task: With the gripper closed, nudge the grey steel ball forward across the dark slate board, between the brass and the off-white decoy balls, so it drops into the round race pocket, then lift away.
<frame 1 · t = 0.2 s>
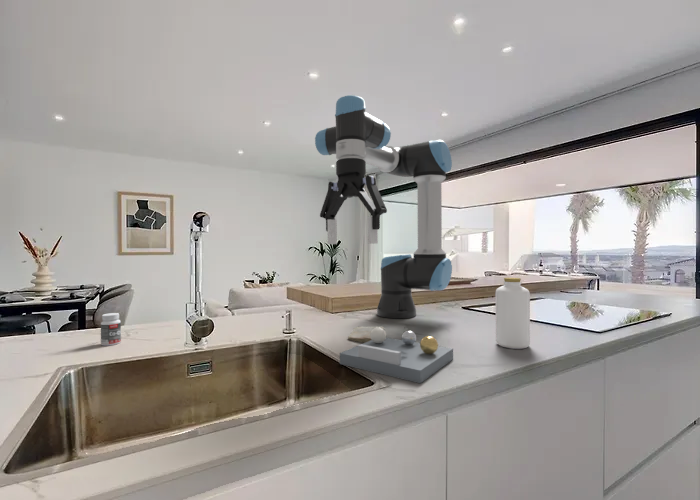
hand: (351, 244, 90), 28 cm above the worktop, fingers open, 13 cm apart
brass ball: (429, 344, 80), point 4 cm above the worktop, touching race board
stone: (370, 339, 105), on the worktop
white ball: (378, 335, 89), point 4 cm above the worktop, touching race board
steel ball: (408, 337, 88), point 4 cm above the worktop, touching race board
pill bottle: (111, 344, 100), on the worktop
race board: (397, 361, 83), on the worktop
potion bottle: (512, 346, 95), on the worktop
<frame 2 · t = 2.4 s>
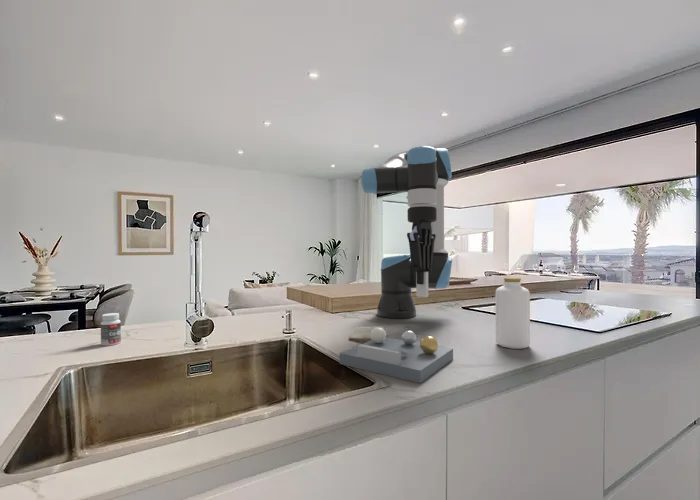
hand: (422, 296, 94), 14 cm above the worktop, fingers closed
nothing on the worktop moved.
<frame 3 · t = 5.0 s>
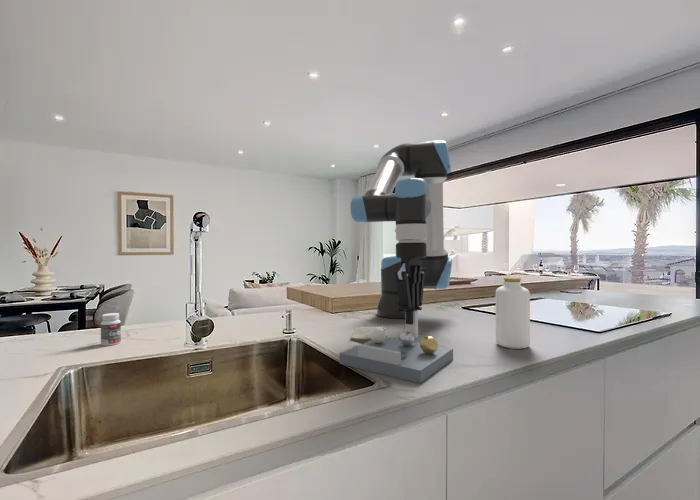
hand: (411, 336, 88), 4 cm above the worktop, fingers closed
steel ball: (406, 338, 87), point 4 cm above the worktop, tilted 33°, touching gripper, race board
everything else where it was.
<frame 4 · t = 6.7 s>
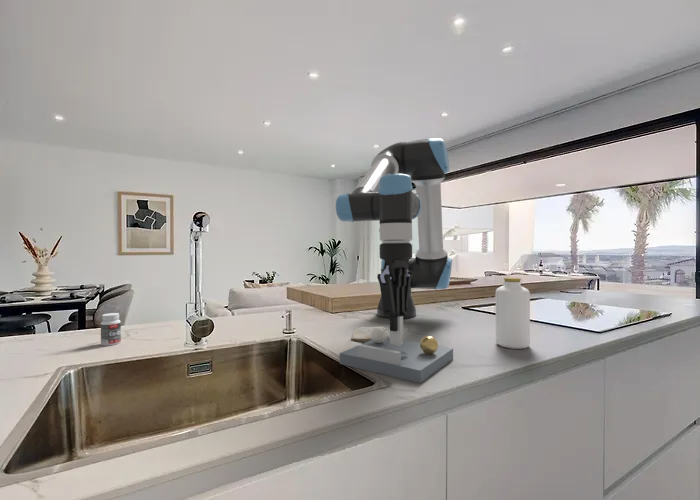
hand: (396, 344, 82), 4 cm above the worktop, fingers closed
steel ball: (388, 359, 79), point 2 cm above the worktop, tilted 37°
everything else where it was.
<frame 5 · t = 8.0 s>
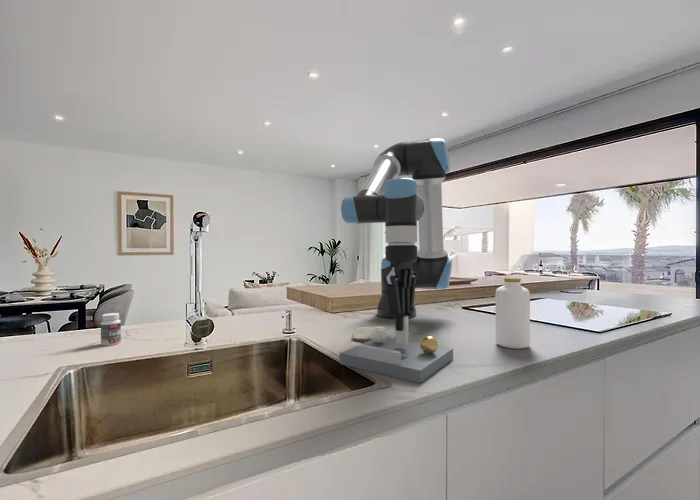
hand: (402, 343, 85), 4 cm above the worktop, fingers closed
steel ball: (389, 358, 79), point 2 cm above the worktop, tilted 20°
everything else where it was.
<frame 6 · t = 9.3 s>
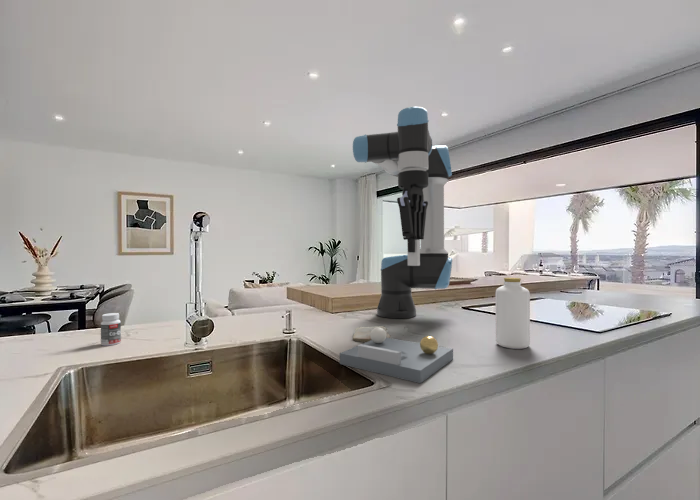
hand: (413, 265, 90), 22 cm above the worktop, fingers closed
steel ball: (390, 358, 80), point 2 cm above the worktop, tilted 7°
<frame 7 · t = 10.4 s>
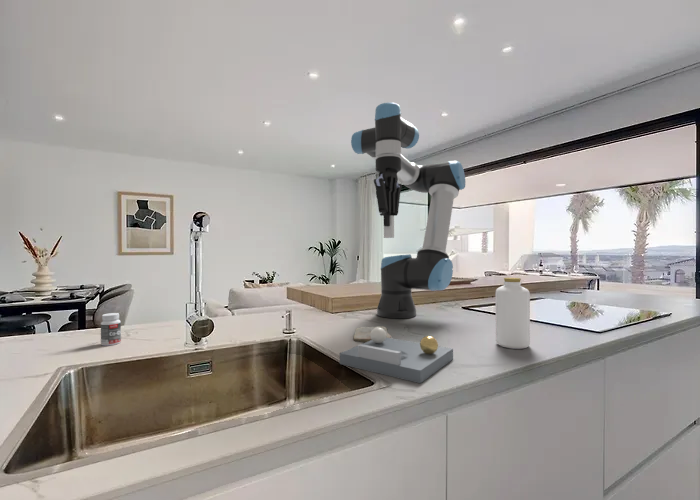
hand: (388, 237, 105), 29 cm above the worktop, fingers closed
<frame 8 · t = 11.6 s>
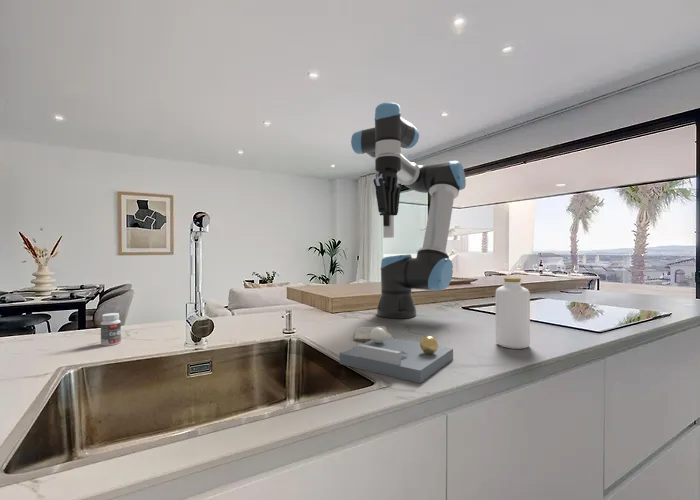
hand: (388, 237, 105), 29 cm above the worktop, fingers closed
at the end: steel ball 0.4 cm from the target spot in the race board, point 1.7 cm above the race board's base; brass ball moved 0.1 cm from its start; white ball moved 0.1 cm from its start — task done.
